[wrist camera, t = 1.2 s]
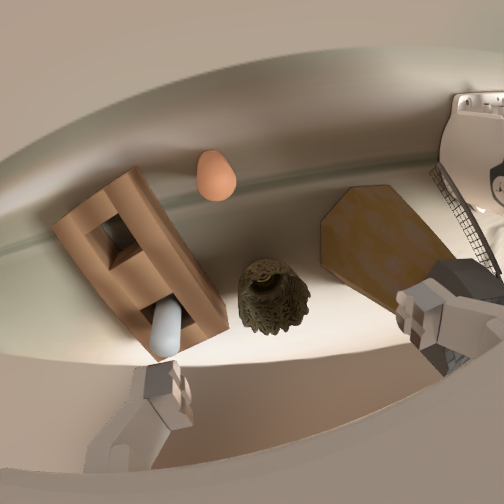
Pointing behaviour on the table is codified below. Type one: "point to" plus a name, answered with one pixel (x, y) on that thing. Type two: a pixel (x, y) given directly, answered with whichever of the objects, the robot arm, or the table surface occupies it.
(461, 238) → the table surface
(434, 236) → the windmill
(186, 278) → the peg block
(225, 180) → the peg
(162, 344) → the seated peg
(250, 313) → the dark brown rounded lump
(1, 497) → the robot arm
